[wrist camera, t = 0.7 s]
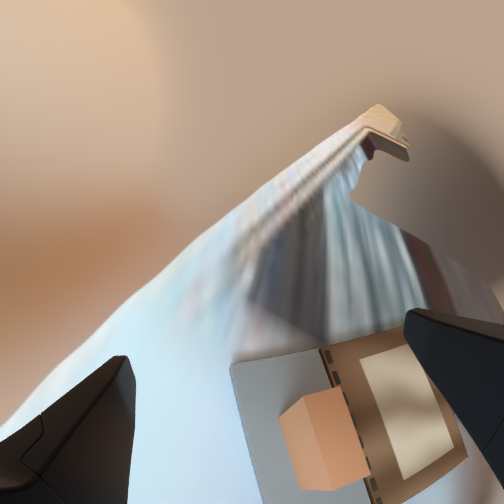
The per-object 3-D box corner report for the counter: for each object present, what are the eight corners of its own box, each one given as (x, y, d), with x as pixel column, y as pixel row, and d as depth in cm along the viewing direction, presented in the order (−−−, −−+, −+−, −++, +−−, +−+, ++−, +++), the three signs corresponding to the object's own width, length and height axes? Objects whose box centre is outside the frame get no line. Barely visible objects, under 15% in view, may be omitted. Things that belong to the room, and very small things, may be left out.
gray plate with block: (366, 516, 15) (423, 519, 9) (277, 549, 13) (310, 575, 7) (312, 355, 25) (345, 310, 20) (229, 370, 23) (239, 327, 18)
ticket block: (457, 459, 18) (468, 456, 17) (369, 515, 15) (379, 516, 14) (404, 330, 28) (412, 322, 27) (314, 354, 25) (321, 347, 24)
